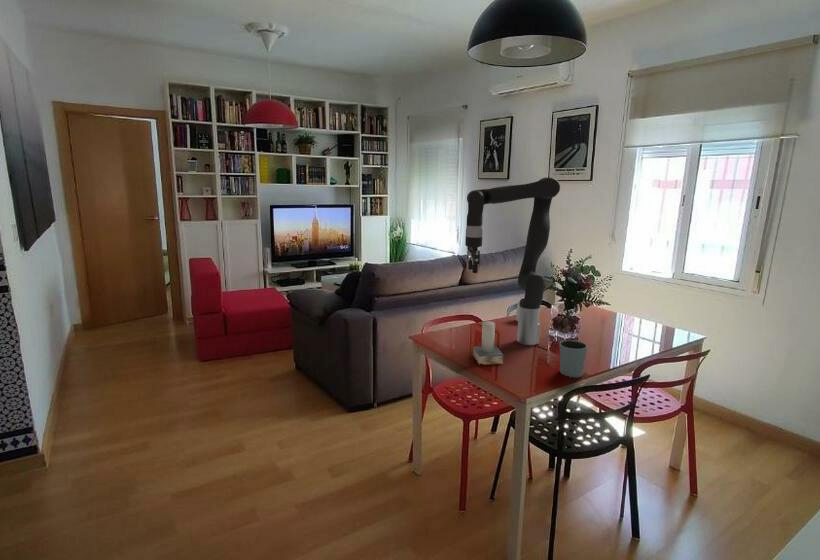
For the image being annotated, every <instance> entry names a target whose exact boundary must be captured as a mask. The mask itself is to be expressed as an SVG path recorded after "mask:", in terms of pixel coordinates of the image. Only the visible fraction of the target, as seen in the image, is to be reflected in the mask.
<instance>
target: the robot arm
mask: <svg viewBox="0 0 820 560" xmlns="http://www.w3.org/2000/svg"><path fill="white" fill-rule="evenodd" d="M560 191H561V184H560V182H559V180H558V179H556V178H554V177H553V176H552V177H551V176H547V177H541V178H540V179H538V181H537V180H536V181H533V182H530V183H522V184H515V185H514V184H511V185H502V186H496V187H491V188H483V189H474V190H471V191H469V192H468V194H467V197H466V201H467V205H468V206H467V214H466V226H465V227H466V228H465V241H464V244H465V247H467V248H466V249H467V252H466V259H467V262H468V263H467V269H468V270H472V273H473V274H478V272H479V270H478V267H479V265H480V263H481V260H480V258H481V251H480V250H478V249H479V248H481V247H482V246H483V235H484V234H483V232H484V231H483V229H484V228H483V219H484V218H483V212H484V206H485V205H488V204H490V205H491V204H493V205H495V204H503V203H508V202H514V201H515V202H516V201H519V200H526V199H533V208H532V212H531V217H530V221H529V225H528V230H527V236H526V243H525V249H524V253H523V259H522V263H521V267H520V269H519V273H518V277H517V285H518V287H519V288H520V289H521V290H523V291H524V297H523V298H521V299H519V300H520V303H519V319H518V321H517V336H516V337H517V338H516V342H517V343H518V344H521V345H525V346H535V345H539V344H540V338H541V337H540V336H541V335H540V334H541V324H540V313H541V312H540V311H541V304H542V302H543V297H544V290H545V280H544V277H543V276H542V275H541V274H540V273H536V272H537V271H536V270H537V264H538V261H539V258H540V257H541V255H543V252H544V251H545V249H546V248H547V246H548V242H549V237H550V232H551V226H550V225H551V221H550V210H551V209H550V208H551V205H552V201H553V198H555V197H556V196H557V195H558V194H559V193H560Z"/></svg>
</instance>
